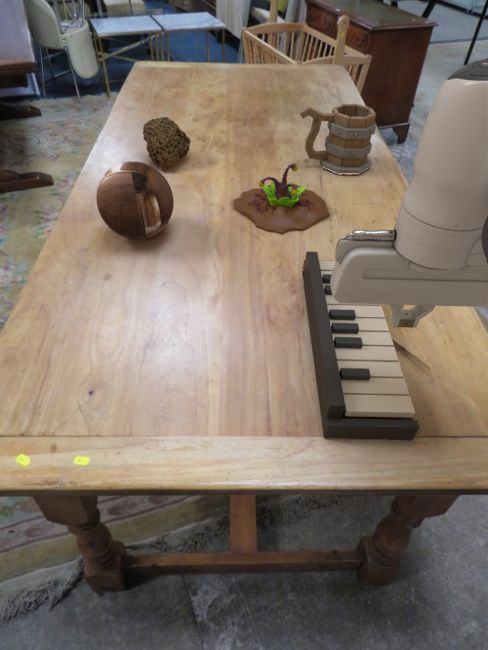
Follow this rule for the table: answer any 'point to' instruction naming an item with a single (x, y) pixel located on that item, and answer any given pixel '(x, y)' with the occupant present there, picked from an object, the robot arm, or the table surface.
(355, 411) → the white piano key
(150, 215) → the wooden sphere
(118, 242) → the table surface
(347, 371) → the keyboard
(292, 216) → the plant
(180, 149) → the brown porous lump
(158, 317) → the table surface
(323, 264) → the low key
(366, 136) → the tankard
